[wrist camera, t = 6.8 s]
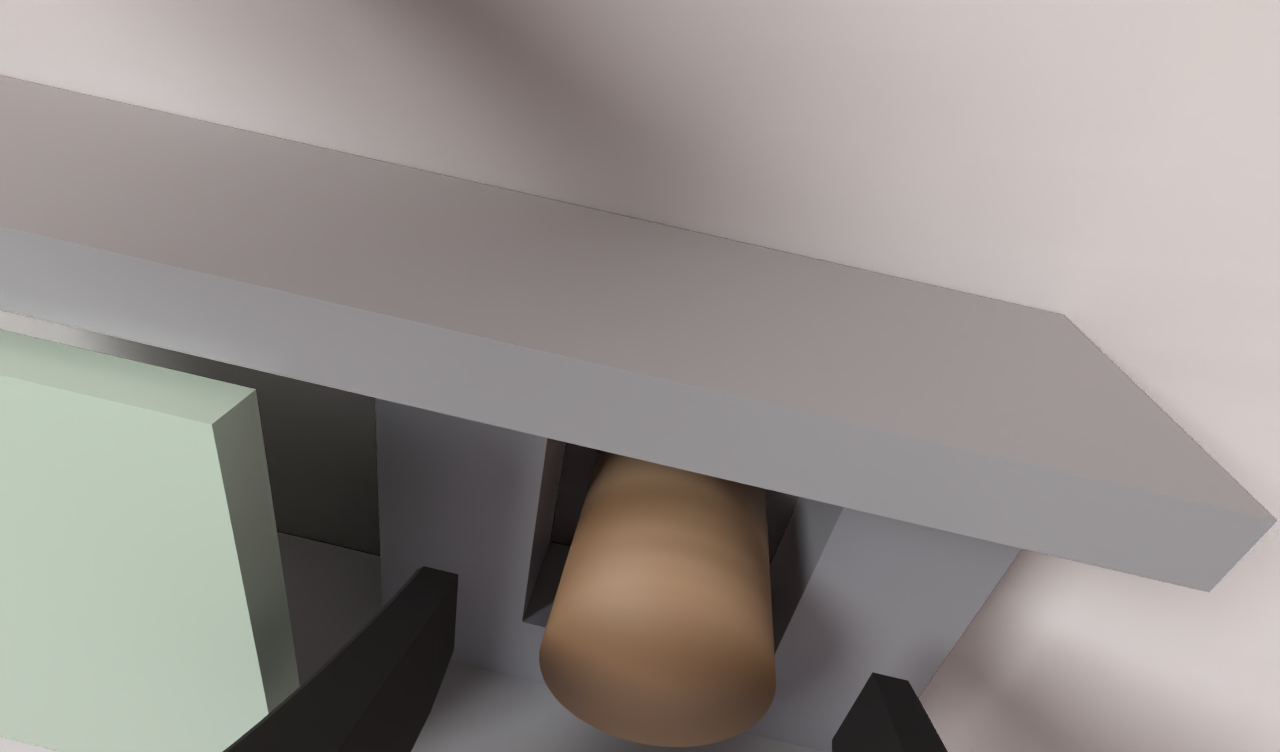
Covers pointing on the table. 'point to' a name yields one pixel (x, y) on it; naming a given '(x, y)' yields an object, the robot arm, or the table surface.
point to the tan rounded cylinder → (664, 607)
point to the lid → (134, 556)
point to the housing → (607, 401)
